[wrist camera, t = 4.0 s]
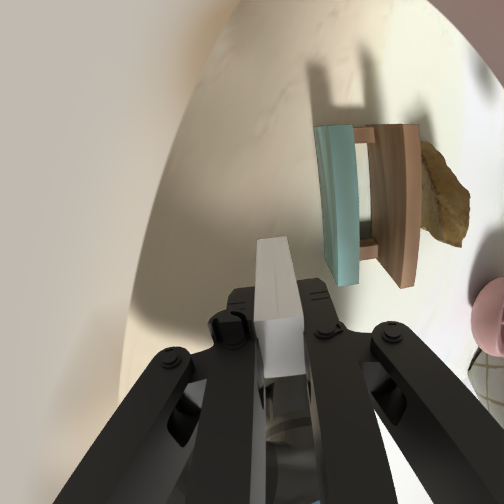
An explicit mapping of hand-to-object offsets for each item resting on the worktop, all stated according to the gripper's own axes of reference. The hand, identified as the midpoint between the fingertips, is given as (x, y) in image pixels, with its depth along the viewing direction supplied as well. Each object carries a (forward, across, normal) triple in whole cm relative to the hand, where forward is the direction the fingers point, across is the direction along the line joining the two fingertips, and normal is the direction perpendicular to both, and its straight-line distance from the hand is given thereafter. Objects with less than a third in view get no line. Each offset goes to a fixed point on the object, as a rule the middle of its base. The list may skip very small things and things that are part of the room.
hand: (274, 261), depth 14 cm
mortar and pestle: (+15, +33, -18) cm, 41 cm away
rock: (+15, +18, 0) cm, 23 cm away
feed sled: (+14, +9, 0) cm, 17 cm away
